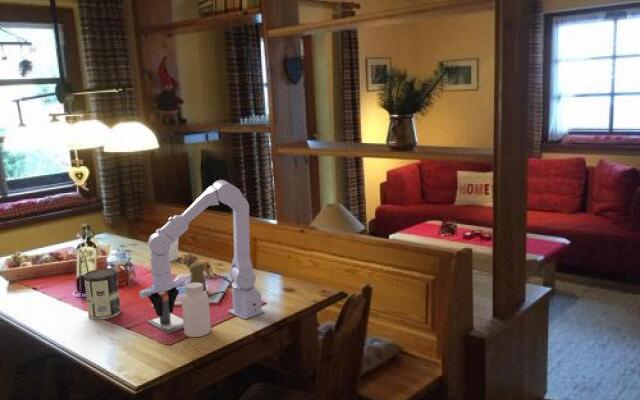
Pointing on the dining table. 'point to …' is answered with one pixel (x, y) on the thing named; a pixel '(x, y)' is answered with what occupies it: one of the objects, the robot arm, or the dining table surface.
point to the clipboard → (171, 327)
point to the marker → (165, 309)
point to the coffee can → (102, 293)
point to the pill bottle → (195, 311)
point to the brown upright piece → (197, 274)
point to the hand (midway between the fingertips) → (164, 313)
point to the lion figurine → (191, 259)
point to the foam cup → (173, 250)
